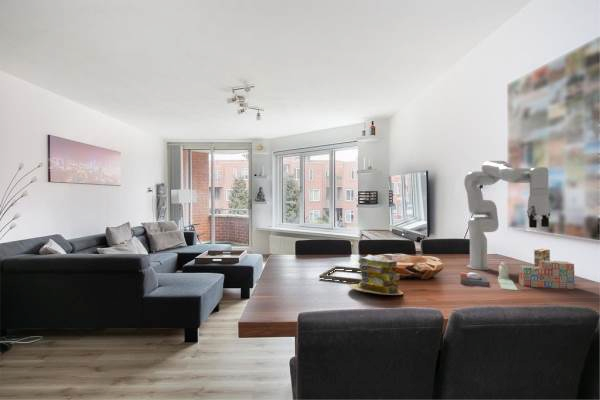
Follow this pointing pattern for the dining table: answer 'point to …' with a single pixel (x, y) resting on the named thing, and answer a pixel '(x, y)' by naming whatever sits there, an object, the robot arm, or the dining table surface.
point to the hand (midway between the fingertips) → (539, 227)
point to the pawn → (503, 271)
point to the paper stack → (377, 276)
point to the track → (507, 284)
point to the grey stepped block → (480, 282)
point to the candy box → (541, 256)
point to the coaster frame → (324, 275)
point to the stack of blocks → (548, 275)
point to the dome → (473, 276)
